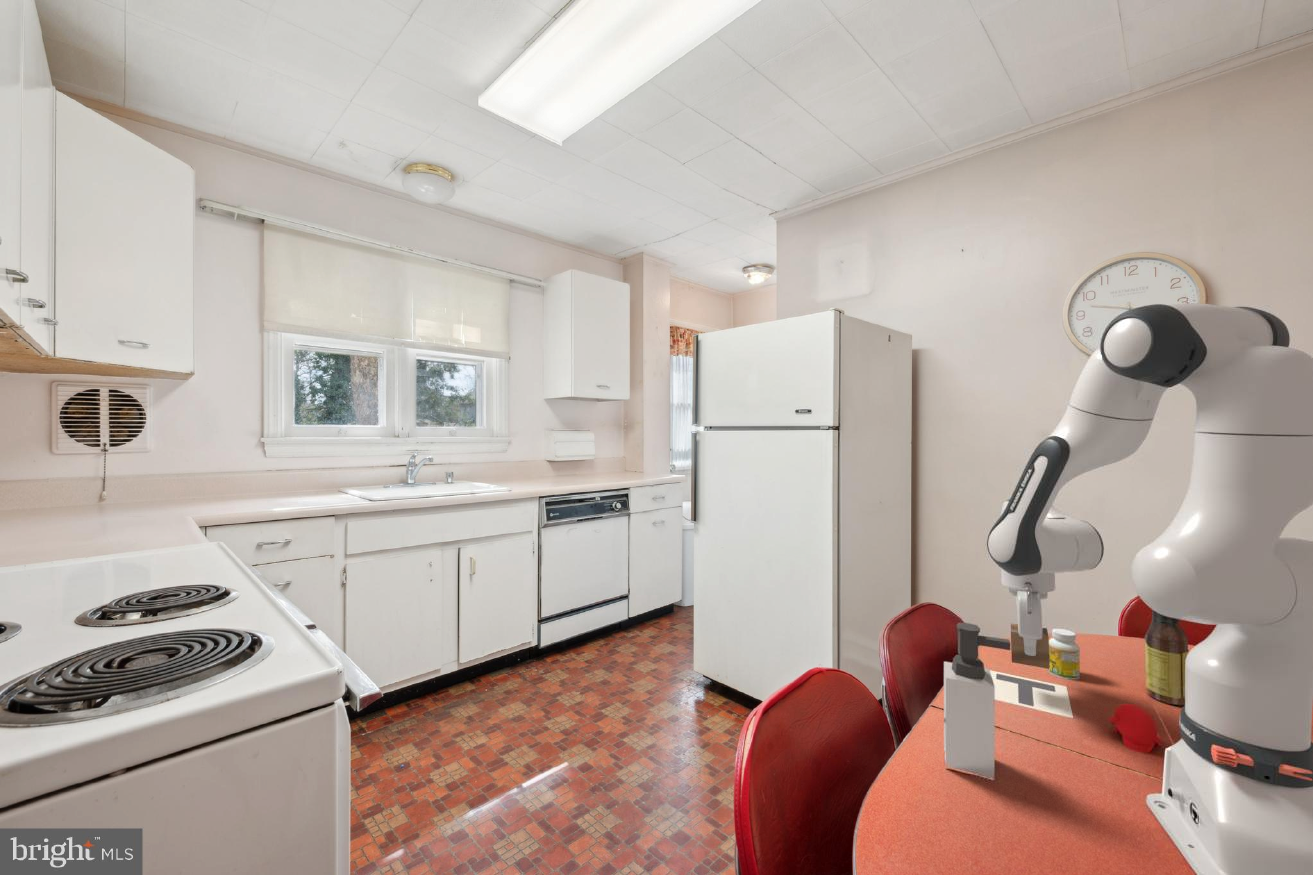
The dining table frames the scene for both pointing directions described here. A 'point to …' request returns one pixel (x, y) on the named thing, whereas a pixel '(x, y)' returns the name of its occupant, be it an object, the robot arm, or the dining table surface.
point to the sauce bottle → (1166, 659)
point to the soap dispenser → (970, 704)
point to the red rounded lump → (1136, 728)
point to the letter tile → (1032, 693)
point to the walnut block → (1019, 653)
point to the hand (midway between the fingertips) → (1029, 648)
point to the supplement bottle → (1064, 654)
